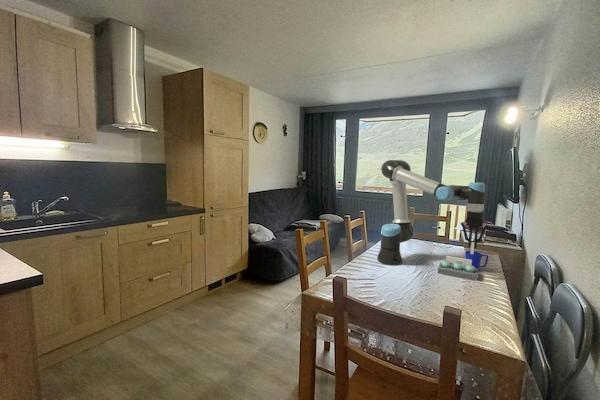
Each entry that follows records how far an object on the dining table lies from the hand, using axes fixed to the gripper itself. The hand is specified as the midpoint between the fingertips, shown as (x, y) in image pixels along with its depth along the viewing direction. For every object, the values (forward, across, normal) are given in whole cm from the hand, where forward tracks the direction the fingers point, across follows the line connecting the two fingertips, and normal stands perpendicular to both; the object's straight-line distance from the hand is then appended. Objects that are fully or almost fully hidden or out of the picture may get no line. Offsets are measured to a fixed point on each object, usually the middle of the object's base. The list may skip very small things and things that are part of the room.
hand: (471, 253), depth 153 cm
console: (+13, -6, 0) cm, 14 cm away
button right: (+11, 0, 0) cm, 11 cm away
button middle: (+11, -6, 0) cm, 12 cm away
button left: (+10, -12, 0) cm, 16 cm away
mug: (+13, +2, +14) cm, 19 cm away
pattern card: (+13, -6, +8) cm, 16 cm away
